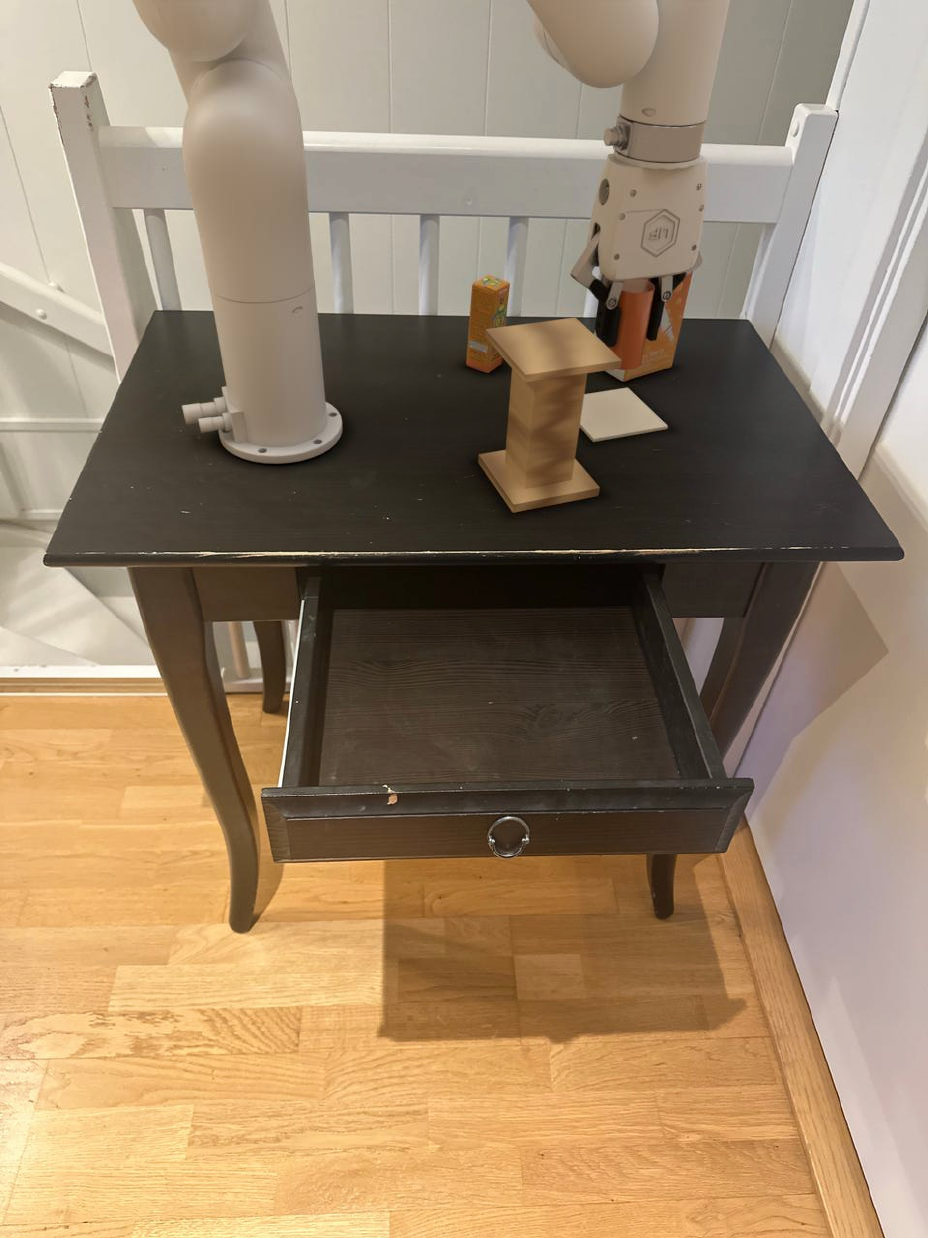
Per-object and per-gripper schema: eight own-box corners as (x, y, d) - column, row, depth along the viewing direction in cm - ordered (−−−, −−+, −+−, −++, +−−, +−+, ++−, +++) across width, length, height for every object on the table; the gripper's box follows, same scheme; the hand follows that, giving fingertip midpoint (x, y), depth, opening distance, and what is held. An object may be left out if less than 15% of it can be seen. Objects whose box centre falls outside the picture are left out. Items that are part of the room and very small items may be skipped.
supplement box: (489, 374, 98) (495, 289, 91) (465, 366, 100) (468, 281, 93) (504, 364, 100) (510, 280, 94) (480, 356, 102) (485, 272, 95)
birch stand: (512, 513, 78) (525, 374, 69) (478, 462, 84) (485, 328, 75) (598, 496, 81) (622, 359, 71) (558, 448, 87) (575, 316, 77)
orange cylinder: (614, 372, 86) (626, 295, 81) (596, 355, 89) (607, 279, 83) (648, 367, 87) (662, 290, 82) (629, 350, 90) (642, 275, 84)
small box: (623, 383, 98) (643, 270, 89) (588, 361, 102) (604, 251, 93) (673, 367, 101) (697, 257, 92) (638, 347, 105) (658, 239, 96)
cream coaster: (593, 442, 88) (593, 438, 88) (556, 401, 94) (557, 398, 94) (667, 429, 91) (668, 425, 90) (627, 390, 97) (627, 387, 96)
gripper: (593, 158, 69) (568, 366, 82) (763, 144, 74) (715, 343, 86) (554, 134, 74) (536, 333, 87) (716, 123, 79) (677, 313, 91)
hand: (626, 336), depth 86 cm, fingers closed on orange cylinder, 4 cm apart
